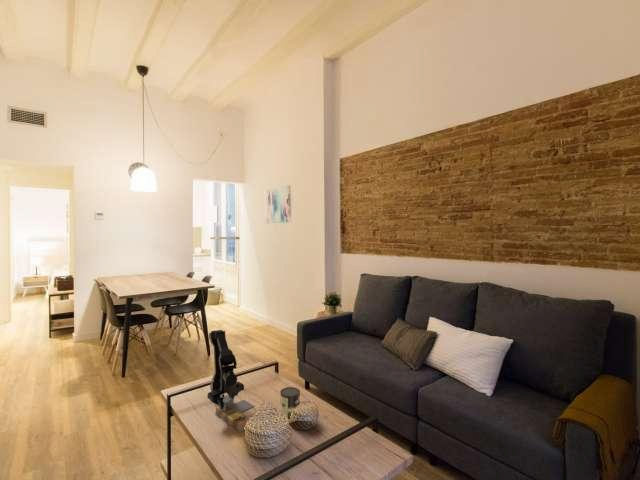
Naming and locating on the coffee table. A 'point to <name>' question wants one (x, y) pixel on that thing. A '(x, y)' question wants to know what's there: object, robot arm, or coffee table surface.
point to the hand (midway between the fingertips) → (226, 407)
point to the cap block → (227, 404)
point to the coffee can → (289, 400)
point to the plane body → (236, 424)
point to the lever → (235, 416)
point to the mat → (242, 406)
